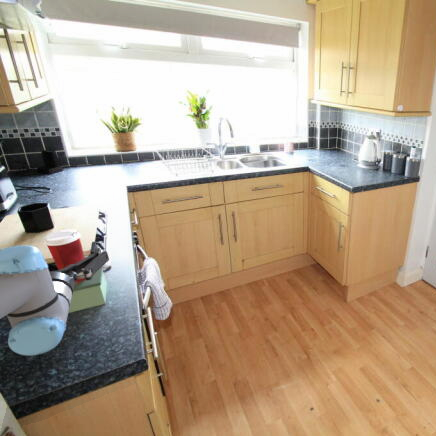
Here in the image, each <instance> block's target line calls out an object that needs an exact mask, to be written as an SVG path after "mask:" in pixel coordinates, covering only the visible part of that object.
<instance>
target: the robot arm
mask: <svg viewBox="0 0 436 436" xmlns="http://www.w3.org/2000/svg"><path fill="white" fill-rule="evenodd" d="M90 246H91V247H90V251H89V253H90V255H88V256H86V257H85V258H84V259H83V260H81V261H79V262H77V263H76V264H70V265H69V266H67V267H65V268H64V269H60V270H58V269H57V270H51V271H50V270H49V264H47V261H46V259H45V257H44V255H43V254H42V252H41V251H40V249H39V248H38V247H36V246H33V245H24V244H23V245H22V244H21V245H12V246H8V247H4V248H0V320H1V319H3V318H4V317H7V319H8V321H9V323H10V326H11V329H10V330H9V332H8V339H7V345H8V347H9V349H10V350H11V351H12V352H14V353H15V354H18V355H21V356H28V357H29V356H37V355H42V354H45V353H48V352H50V351H52V350H53V349H55V348H56V347H57V346H58V345H59V344H60V343H61V341H62V339H63V336H64V333H65V332H66V330H67V321H68V317H69V313H68V312H69V307H70V303H71V299H72V294H73V290H74V285H75V282H76V281H77V280H78V279H81V278H85V279H86V280H91V279H92V277H93V275H94V274H95V273H96V272H97V271H98V270H99V269H100V268H101V267H102V266H103V267H104V266H105V265H106V263H108V262H109V261H110V257H109V253H108V251H107V250H104V251H102V250H101V248H100V247H98V246H97V242H96V241H92V242H91V245H90ZM70 270H71V271H70Z"/></svg>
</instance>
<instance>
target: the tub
mask: <svg viewBox="0 0 436 436" xmlns="http://www.w3.org/2000/svg"><path fill="white" fill-rule="evenodd" d="M107 293H108V283H107V280H106V276H105V273H104V265H103V266H102V267H101V268H100V269H99V270H98V271H97V272H96V273H95V274H94V275H93V277H92V279H91V280H86V279H85V280H83V281H81V282H79V283H75V285H74V290H73V294H72V299H71V303H70V307H69V312H68V314H70V313H75V312H78V311H83V310H86V309H91V308H94V307H97V306H101V305H105V304H107V303H106V302H107Z"/></svg>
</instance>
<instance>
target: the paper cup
mask: <svg viewBox="0 0 436 436" xmlns="http://www.w3.org/2000/svg"><path fill="white" fill-rule="evenodd" d="M81 235H82V234H80V232H78V231H77V230H76V229H74V228H73V229H72V228H66V229H60V230H56V231H53V232H50V233H48V234H47V235H46V236H45V238H44V241H43V244H44V245H45V246H47V248H48V251H49V252H50V254H51V257H52V260H53V261H54V263H55V266H56V268H57V270H60V269H64V268H65V267H67V266H69V265H70V264H76V263H77V262H79V261H81V260H83V259H84V258H86V257H85V253H84V249H83V245H82V241H81ZM70 271H71V270H70ZM83 280H85V278H81V279H78V280H77V281H76V282H75V283H79V282H81V281H83Z"/></svg>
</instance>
